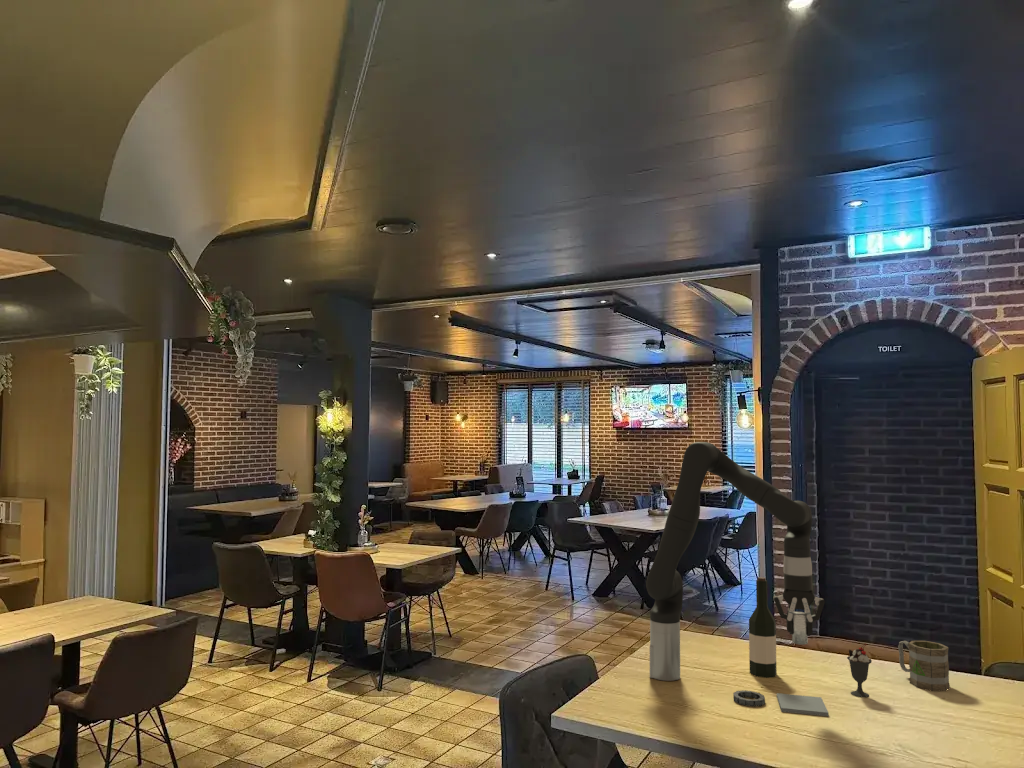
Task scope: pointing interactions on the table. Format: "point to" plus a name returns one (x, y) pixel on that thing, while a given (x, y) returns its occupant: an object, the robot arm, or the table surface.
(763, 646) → the wine bottle
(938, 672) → the mug
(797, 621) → the cylinder
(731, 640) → the table surface
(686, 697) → the table surface
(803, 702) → the slate mat
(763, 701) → the metal eye
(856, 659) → the sundae
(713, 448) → the robot arm
